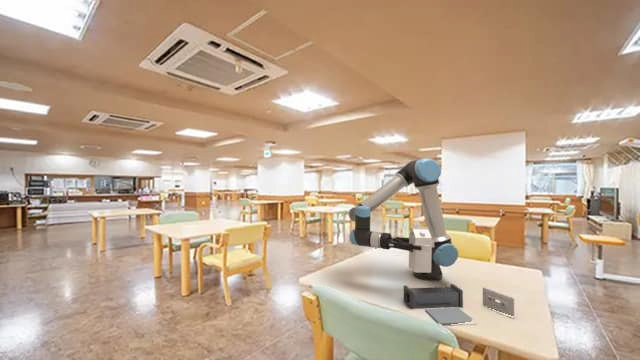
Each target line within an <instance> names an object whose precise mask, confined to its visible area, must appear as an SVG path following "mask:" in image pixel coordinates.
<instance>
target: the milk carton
mask: <svg viewBox="0 0 640 360" xmlns="http://www.w3.org/2000/svg"><path fill="white" fill-rule="evenodd" d="M411 228H412V230H411V231H410V232H409V235H408V238H409V243H410V244H413V245H414V244H421V245H429V246H430V252H422V251H415V250H414V249H413V252H411V251H408V268H409V269H411V270H412V272H413V271H414V272H417V273H431V255H432V237H431V235H430V232H429V230H428V227H426V226H412V227H411Z"/></svg>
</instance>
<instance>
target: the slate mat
mask: <svg viewBox="0 0 640 360" xmlns="http://www.w3.org/2000/svg"><path fill="white" fill-rule="evenodd" d="M424 311H425V313H426V314H427V315H429V317H430V318H431V319H432V320H434V322H435V323H437V322H438V323H440V324H442V325H444V326H452V325H451V324H458V323H465V322H471V321H472V319H473V317H471V316H469V315H468V314H467V313H465V312H464V311H463V310H461V308H460V307H444V308H424ZM438 323H437V324H438Z"/></svg>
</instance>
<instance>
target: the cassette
mask: <svg viewBox="0 0 640 360" xmlns="http://www.w3.org/2000/svg"><path fill="white" fill-rule="evenodd" d="M498 301H499V302H498ZM483 305H484V306H483ZM482 306H483V307H485V306H487V307H488V308H491V309H494V310H496V311H499V312H502V313H505V314H508V315H511V316H514V317H515V298H514V297H512V296H509V295H506V294H504V293H500V292H498V291H496V290H492V289H490V288H488V287H485V286H484V287H482ZM487 307H486V308H487ZM488 308H487V309H488ZM491 309H490V310H491Z"/></svg>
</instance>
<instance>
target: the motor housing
mask: <svg viewBox="0 0 640 360" xmlns="http://www.w3.org/2000/svg"><path fill="white" fill-rule="evenodd" d="M463 297H464V290H463V289H461V288H460V287H458V286H457V285H455V284H453V283H450V285H449V286H441V287H440V286H436V287H434V286H433V287H409V286H408V285H406V284H405V285H403V303H404V304H405V305H406V306H407V308H409V309H410V310H415V309H416V310H417V309H442V308H441V307H444V308H464V298H463Z"/></svg>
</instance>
